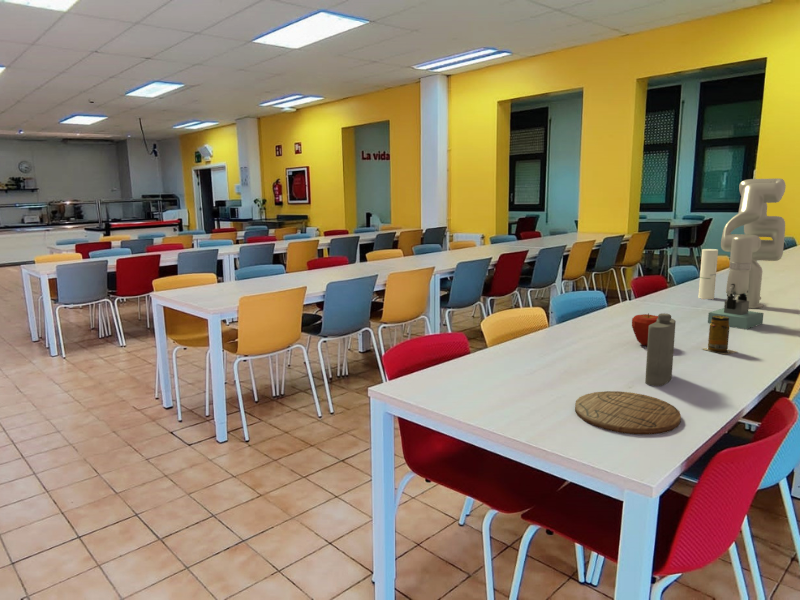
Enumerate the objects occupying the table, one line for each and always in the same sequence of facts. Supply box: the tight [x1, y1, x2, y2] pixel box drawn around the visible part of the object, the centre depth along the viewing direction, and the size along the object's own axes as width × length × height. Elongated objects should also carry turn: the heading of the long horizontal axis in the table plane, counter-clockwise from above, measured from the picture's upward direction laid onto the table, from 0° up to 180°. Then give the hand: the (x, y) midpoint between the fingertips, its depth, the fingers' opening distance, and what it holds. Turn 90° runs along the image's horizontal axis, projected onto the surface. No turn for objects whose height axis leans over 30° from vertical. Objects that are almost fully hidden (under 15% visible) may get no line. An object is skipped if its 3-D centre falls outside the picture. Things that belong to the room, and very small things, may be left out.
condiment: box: [702, 316, 738, 355], centre depth 196 cm, size 7×8×12 cm
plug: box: [723, 299, 750, 315], centre depth 234 cm, size 7×7×9 cm
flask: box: [644, 312, 677, 387], centre depth 167 cm, size 15×6×20 cm, turn 144°
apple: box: [631, 313, 658, 346], centre depth 205 cm, size 11×11×12 cm
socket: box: [707, 307, 764, 330], centre depth 235 cm, size 15×15×4 cm
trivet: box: [574, 390, 682, 436], centre depth 144 cm, size 25×25×2 cm
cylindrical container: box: [698, 248, 719, 300], centre depth 286 cm, size 7×7×25 cm
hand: (736, 307), depth 234 cm, fingers open, 9 cm apart
